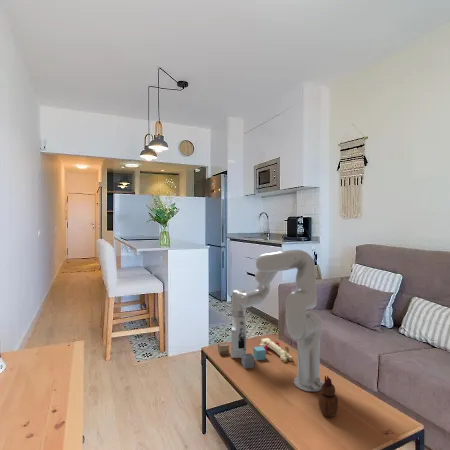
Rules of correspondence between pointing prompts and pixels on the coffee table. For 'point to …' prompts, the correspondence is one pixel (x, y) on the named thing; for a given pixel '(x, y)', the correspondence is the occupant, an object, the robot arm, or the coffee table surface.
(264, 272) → the robot arm
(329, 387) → the wooden figurine
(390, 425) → the coffee table surface
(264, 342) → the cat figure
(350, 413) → the coffee table surface
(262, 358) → the teal block
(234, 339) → the skincare box
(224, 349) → the walnut block
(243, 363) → the charcoal block
